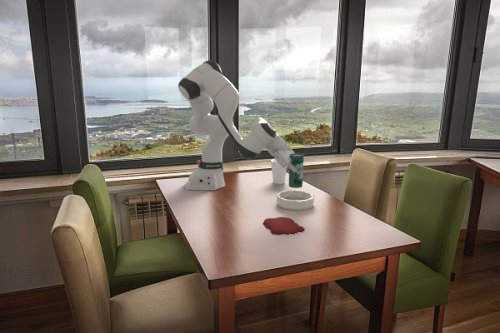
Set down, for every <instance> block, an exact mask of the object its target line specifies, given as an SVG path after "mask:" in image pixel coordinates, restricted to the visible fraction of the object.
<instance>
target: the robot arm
mask: <svg viewBox="0 0 500 333" xmlns="http://www.w3.org/2000/svg"><path fill="white" fill-rule="evenodd" d="M222 72H223V71H222V69H221V67H220V65H219V64H218V63H217V62H216V61H214V60H212V59H208V60H205V61H203V63H201V64H200V65H198V66H196V67H195V68H193V69H192V70H191V71H189V73H188V74H186V76H185V77H183V78H182V79H180V81H179V82H178V85H177V87H178V90H179V93H180V94H181V96H183V97H184V98H185V99H187V100H188V102H189V104H190V107H191V109H192V112H193V115H192V116H191V118H190V119H189V122H188V126H189V130H190V131H191V133H193V134H196V135H200V136H201V135H202V136H209V140H208V141H207V142H206V143H204V144H202V147H201V160H200V159H199V160H197V161H196V163H197V165H198V166H197V168H196V169H195V170H194V171H192V172H190V174H189V176H188V179H187V181H186V182H185V183H184V185H183V187H184V188H185V189H186V190H188V191H216V190H218V189H222V188H224V187H225V186H226V183H225V182H226V181H225V179H224V171H223V170H224V161H223V147H224V144H225V141H226V139H228V137H229V138H230V139H231V140H232V142H233V143H234V146H235V147H236V149H237V151H238V152H239V155H240V156H241V157H242V158H244V160H246V161H247V160H249V161H251V160H255V159H256V158H257V157H258V156H259V154H260V153H261V152H263V150H264V149H265V150H266V151H267V152H268V153H269V154H270V155H271V156H272V157H274V158H273V159H276V161H277V162H278V163H279V164H280V165H281V166H282V167H283V168H285V167H286V166H287V169H291V170H292V171H293V172H296V171H297V168H296V167H294V166H293V165H292V163H291V161H292V159H291V158H290V154H294V153H295V151H294V150H293V148H292V147H291V146H290V144H289V143H288V141H287V140H286V139H284V138H282V136H280V135H279V134H278V133H277V130H276V128H275V127H274V126H273V125H272V124H271V122H268V121H266V120H265V119H263V118H262V117H256V118H255V119H253V120H252V121H251V123H250V124H249V126H248V129H249V130H250V132H248V134H247V135H246V136H245V137H242V135H241V133H240V132H239V131H238V129H237V127H236V126H235V124H234V119H233V118H234V115H235V114H236V113H235V112H236V110H237V108H238V105H239V103H240V93H239V92H238V89H236V87H235V86H234V85H233V83H232V82H230V80H229V79H228V78H227V77H225V76H224V74H223V73H222ZM214 103H215V104H214ZM214 106H216V108H217V114H211V112H212V111H213V109H214ZM185 189H184V190H185Z"/></svg>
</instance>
